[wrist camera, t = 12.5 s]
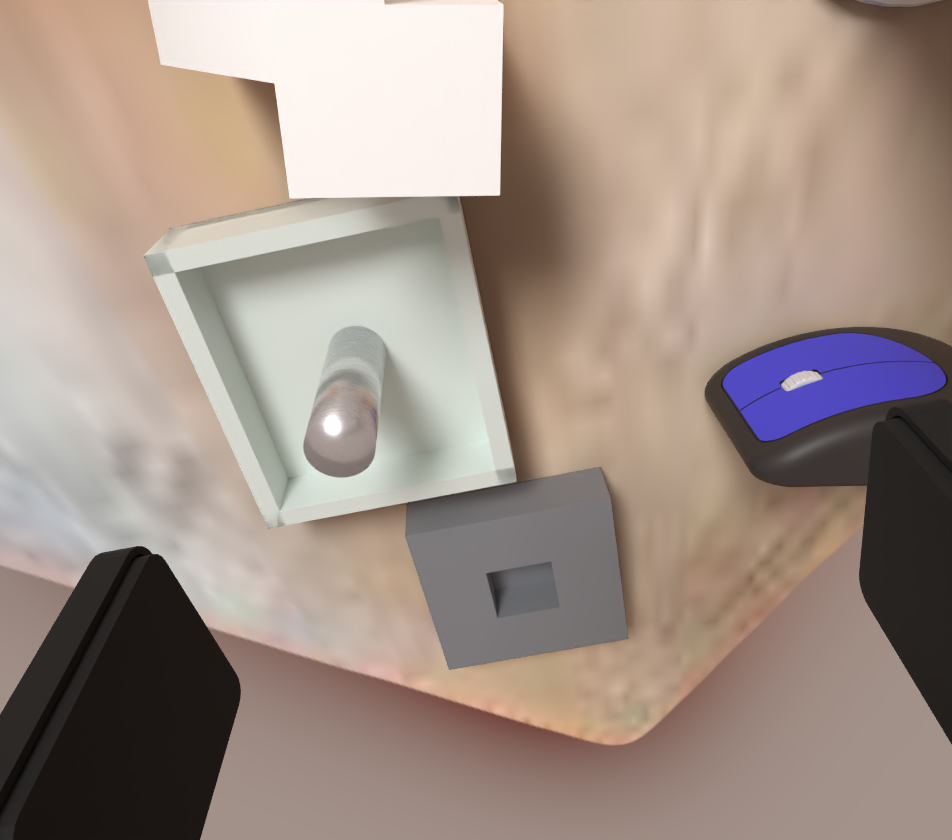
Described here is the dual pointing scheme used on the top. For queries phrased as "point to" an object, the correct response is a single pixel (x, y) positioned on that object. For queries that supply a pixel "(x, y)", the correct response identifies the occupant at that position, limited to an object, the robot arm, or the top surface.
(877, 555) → the robot arm
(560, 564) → the grey square hole plate
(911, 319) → the top surface
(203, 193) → the top surface
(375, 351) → the pin
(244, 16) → the corner bracket
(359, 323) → the parts tray
